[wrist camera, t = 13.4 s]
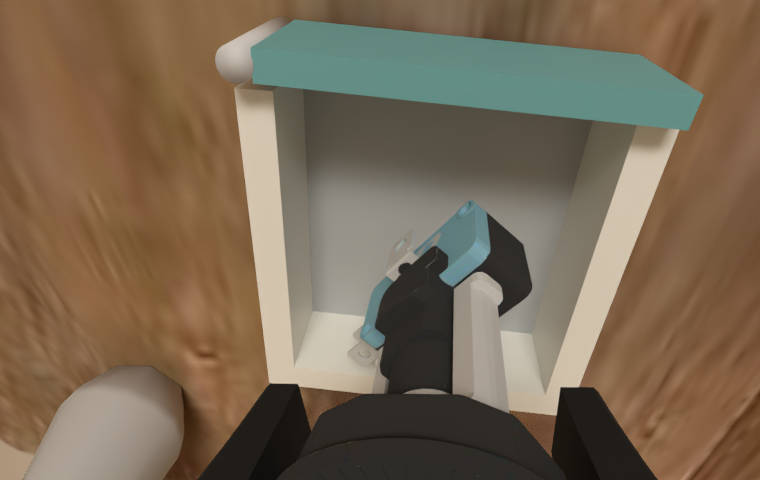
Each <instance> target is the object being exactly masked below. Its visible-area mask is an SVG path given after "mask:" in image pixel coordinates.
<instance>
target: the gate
mask: <svg viewBox="0 0 760 480" xmlns="http://www.w3.org/2000/svg"><path fill="white" fill-rule="evenodd" d="M215 62H216V67H217V69H218V71H219V73H220V74H221V76H222V77H223V78H224V79H226V80H227V81H229V82H231V83H234V84H242V83H245V82H247V81H248V80H249V79H251V78H252V80H253V84H262V85H271V86H281V87H290V88H299V89H308V90H317V91H327V92H336V93H345V94H354V95H364V96H373V97H382V98H391V99H401V100H410V101H419V102H428V103H438V104H447V105H456V106H465V107H475V108H484V109H493V110H502V111H512V112H521V113H530V114H539V115H549V116H558V117H567V118H576V119H586V120H595V121H604V122H613V123H622V124H632V125H641V126H650V127H659V128H669V129H678V130H687V131H688V130H689V127H690V125H691V123H692V121H693V118H694V116H695V114H696V112H697V109H698V107H699V105H700V102H701V100H702V98H703V96H704V95H703V94H701V93H700V92H698V91H696V90H695V89H693V88H692V87H690V86H689V85H687V84H685V83H684V82H682V81H681V80H679V79H678V78H676V77H674V76H673V75H671V74H670V73H668V72H667V71H665V70H663V69H662V68H660V67H659V66H657V65H656V64H654V63H652V62H651V61H649V60H648V59H646V58H644V57H643V56H641V55H638V54H628V53H618V52H608V51H598V50H589V49H579V48H569V47H559V46H549V45H539V44H530V43H520V42H510V41H500V40H490V39H480V38H470V37H461V36H451V35H441V34H431V33H421V32H411V31H402V30H392V29H382V28H372V27H362V26H352V25H343V24H333V23H323V22H313V21H303V20H293V21H292V22H291V21H290V20H289V19H288V18H286V17H282V16H279V17H275V18H273V19H271V20H269V21H267V22H265V23H264V24H262V25H260V26H258V27H256V28H254V29H253V30H251V31H249V32H247V33H245V34H243V35H241V36H240V37H238V38H236V39H234V40H232V41H230V42H228V43H227V44H225V45H223V46H221V47H220V48H219V50H218V51H217V53H216V58H215Z"/></svg>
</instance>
